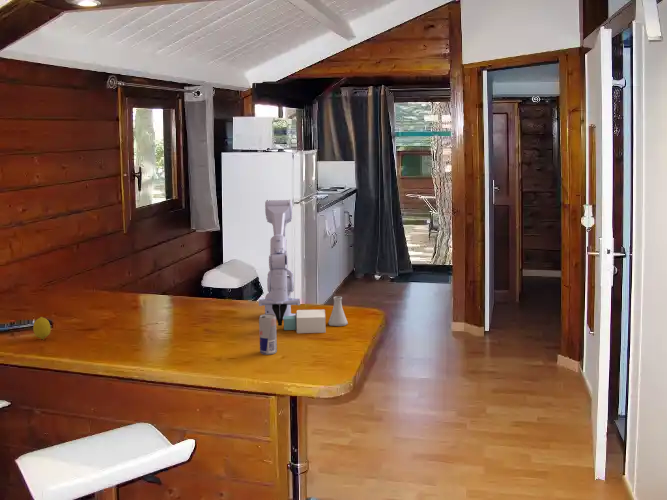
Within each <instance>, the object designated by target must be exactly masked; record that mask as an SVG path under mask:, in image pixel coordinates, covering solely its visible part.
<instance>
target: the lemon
mask: <svg viewBox="0 0 667 500" xmlns="http://www.w3.org/2000/svg"><path fill="white" fill-rule="evenodd" d="M32 328H33V329H32V330H33V333H34V335H35V337H36V338H39V339H41V340H42V339H43V340H45V339H46V338H47V337H48V336H49V335H50V334H51V324H50V322H49V320H48V319H47V318H45V317H43V316H40V317H39V318H37V319H36V320H35V321H34V322H33V327H32ZM44 338H45V339H44Z"/></svg>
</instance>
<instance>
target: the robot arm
mask: <svg viewBox="0 0 667 500" xmlns="http://www.w3.org/2000/svg"><path fill="white" fill-rule="evenodd" d="M264 203H265V204H264V207H265V208H264V210H265V211H264V212H265V219H266V222H267V223H269V224H272V229H273V236H272V237H270V244H269V245H270V249H269V251H270V252H269V254H270V255H269V256H268V267H269V271H268V273H267V278H266V279H267V293H266V295H265V297H264V299H263V298H262V299H258V307H262V306H264V314H273V315H275V317H276V322H277V325H278V327H280V326H281V327H282V326H283V321H284V316H296V313H292V308H291V307H292V306H301V298H291V293H293V292H294V290H295V288H294V283H295V282H294V281H295V280H294V279H295V278H294V272H293V271H292V270H291V269H290V268H289V257H288V252H287V250H288V249H287V238H286V227H287V224H289V223H291V222H292V220H293V200H291V199H276V200H275V199H274V200H273V199H272V200H271V199H267V200H266V201H264Z"/></svg>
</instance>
